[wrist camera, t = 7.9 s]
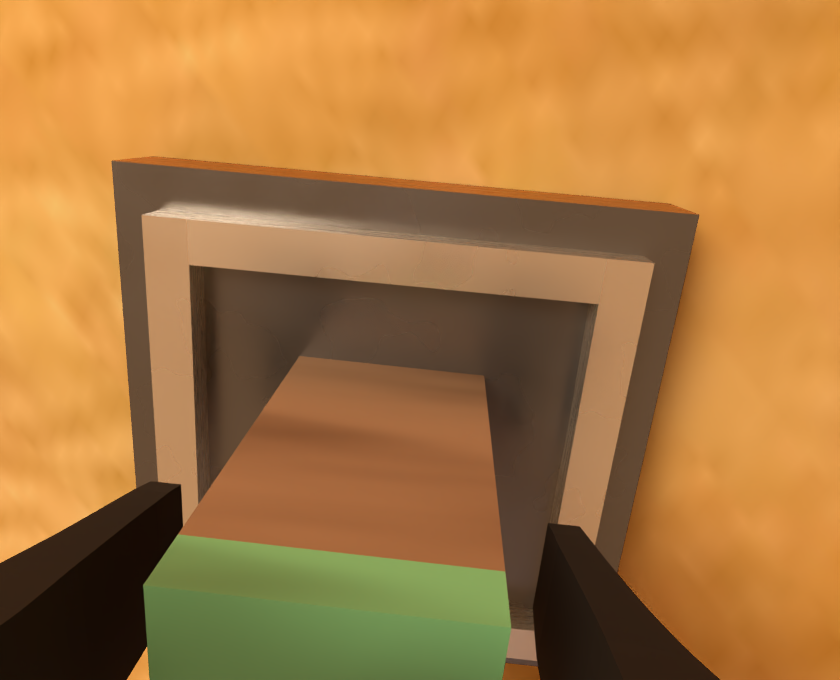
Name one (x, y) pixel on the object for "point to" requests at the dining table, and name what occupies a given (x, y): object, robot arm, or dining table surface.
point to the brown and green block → (343, 539)
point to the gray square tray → (404, 325)
